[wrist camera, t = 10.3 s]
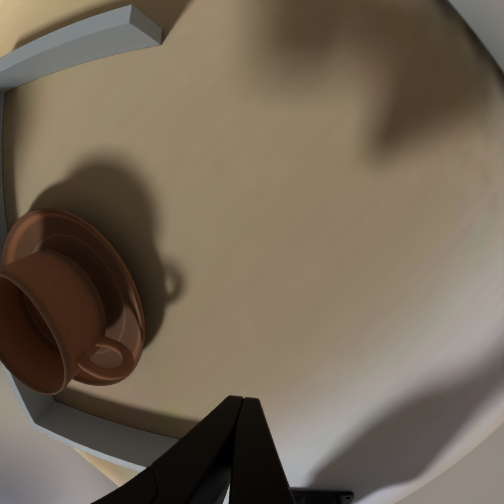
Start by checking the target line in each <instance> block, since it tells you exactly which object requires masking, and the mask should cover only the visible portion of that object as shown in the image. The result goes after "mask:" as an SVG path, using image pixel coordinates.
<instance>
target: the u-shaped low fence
mask: <svg viewBox="0 0 504 504" xmlns="http://www.w3.org/2000/svg"><path fill="white" fill-rule="evenodd" d="M161 38H162V28H160V27H159V26H158V25H157V24H156V23H154V22H153V21H152V20H151V19H150V18H148V17H147V16H146V15H145V14H143V13H142V12H141V11H140V10H138V9H137V8H136V7H134V6H133V5H128V6H124V7H121V8H117V9H114V10H111V11H108V12H104V13H101V14H98V15H95V16H92V17H89V18H87V19H84V20H81V21H78V22H76V23H73V24H71V25H68V26H66V27H63V28H61V29H58V30H56V31H54V32H51V33H49V34H47V35H45V36H42V37H40V38H38V39H36V40H34V41H32V42H30V43H28V44H26V45H24V46H22V47H20V48H18V49H16V50H14V51H12V52H10V53H8V54H7V55H5V56H3V57H1V58H0V268H1V267H2V254H3V249H4V244H5V241H6V238H7V236H8V232H7V224H6V216H5V206H4V193H3V176H2V124H3V107H4V96H5V92H6V91H9V90H11V89H13V88H16V87H18V86H20V85H23V84H25V83H27V82H30V81H32V80H35V79H38V78H40V77H43V76H46V75H48V74H51V73H54V72H57V71H60V70H63V69H66V68H69V67H72V66H75V65H78V64H82V63H85V62H88V61H92V60H95V59H99V58H103V57H107V56H111V55H115V54H119V53H123V52H128V51H132V50H137V49H142V48H147V47H153V46H158V45H161ZM0 362H1V361H0ZM1 365H2V367H3V370H4V372H5V374H6V377H7V379H8V381H9V383H10V386H11V388H12V390H13V392H14V394H15V396H16V399H17V400H18V402H19V404H20V406H21V409H22V410H23V412H24V414H25V416H26V418H27V420H28V422H29V424H30V425H31V427H32V428H35V429H36V430H38V431H40V432H42V433H44V434H46V435H48V436H50V437H52V438H54V439H57V440H59V441H61V442H63V443H65V444H67V445H69V446H72V447H74V448H76V449H79V450H81V451H83V452H86V453H88V454H91V455H93V456H96V457H98V458H101V459H104V460H106V461H109V462H112V463H115V464H118V465H121V466H124V467H127V468H130V469H133V470H136V471H139V472H142V471H143V470H144V469H145V468H147V467H148V466H151V464H152V463H153V462H154V461H155V460H157V459H158V458H159V457H160V456H161V455H163V454H164V453H165V452H166V451H167V450H169V449H170V448H171V447H172V446H173V445H174V444H176V443H177V442H178V441H179V440H180V439H176V438H171V437H167V436H162V435H158V434H154V433H150V432H146V431H142V430H139V429H135V428H132V427H128V426H125V425H121V424H118V423H115V422H112V421H108V420H105V419H102V418H99V417H96V416H93V415H91V414H88V413H85V412H82V411H79V410H77V409H74V408H72V407H69V406H66V405H64V404H61V403H59V402H56V401H55V400H54V398H53V396H52V395H44V394H40V393H38V392H35V391H33V390H31V389H30V388H28V387H26V386H25V385H24V384H22V383H21V382H20V381H19V380H17V379H16V378H15V377H14V376H13V375H12V374H11V373H10V372H9V371H8V370H7V369H6V367H5V366H4V365H3V364H2V362H1Z"/></svg>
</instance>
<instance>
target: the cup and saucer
mask: <svg viewBox="0 0 504 504" xmlns="http://www.w3.org/2000/svg"><path fill="white" fill-rule="evenodd" d="M144 341H145V321H144V313H143V308H142V304H141V300H140V297H139V294H138V291H137V288H136V286H135V283H134V281H133V279H132V277H131V275H130V273H129V271H128V269H127V267H126V265H125V264H124V262H123V261H122V259H121V257H120V256H119V254H118V253H117V252H116V250H115V249H114V248H113V246H112V245H111V244H110V243H109V242H108V240H107V239H106V238H105V237H104V236H103V235H102V234H101V233H100V232H99V231H98V230H97V229H95V228H94V227H93V226H92V225H91V224H89V223H88V222H86V221H85V220H84V219H82V218H80V217H78V216H77V215H74V214H72V213H70V212H67V211H63V210H59V209H51V208H43V209H36V210H33V211H30V212H28V213H26V214H25V215H23V216H22V217H21V218H19V219H18V220H17V221H16V223H15V224H14V225H13V226H12V228H11V230H10V232H9V234H8V236H7V238H6V241H5V244H4V249H3V254H2V267H1V268H0V361H1V362H2V364H3V365H4V366H5V367H6V369H7V370H8V371H9V372H10V373H11V374H12V375H13V376H14V377H15V378H16V379H17V380H19V381H20V382H21V383H22V384H24V385H25V386H26V387H28V388H30V389H31V390H33V391H35V392H38V393H40V394H44V395H55V394H58V393H60V392H61V391H62V390H63V389H64V388H65V387H66V385H67V384H68V383H69V382H70V381H71V380H72V379H73V380H75V381H78V382H81V383H84V384H88V385H94V386H107V385H112V384H115V383H118V382H120V381H122V380H124V379H125V378H126V377H128V376H129V375H130V374H131V373H132V372H133V370H134V369H135V367H136V366H137V364H138V362H139V360H140V357H141V354H142V351H143V346H144Z"/></svg>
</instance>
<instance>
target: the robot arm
mask: <svg viewBox="0 0 504 504" xmlns="http://www.w3.org/2000/svg"><path fill="white" fill-rule="evenodd" d="M229 484H230V492H229V504H350V503H351V501H352V500H353V498H354V494H353V492H331V493H314V492H292V491H291V489H289V488H290V486H289V484H288V481H287V478H286V475H285V473H284V470H283V467H282V464H281V461H280V459H279V456H278V453H277V450H276V447H275V444H274V441H273V438H272V435H271V433H270V430H269V427H268V424H267V421H266V418H265V415H264V412H263V409H262V406H261V403H260V400H259V399H258V398H251V397H245V398H243V397H241V396H233V395H229V396H228V397H226V398H225V399H224V400H223V401H222V402H221V403H220V404H219V405H218V406H217V407H216V408H215V409H214V410H213V411H211V412H210V413H209V414H208V415H207V416H206V417H205V418H204V419H203V420H202V421H201V422H199V423H198V424H197V425H196V426H195V427H194V428H193V429H192V430H190V431H189V432H188V433H187V434H186V435H185V436H184V437H183V438H181V439H180V440H179V441H178V442H177V443H176V444H174V445H173V446H172V447H171V448H170V449H169V450H167V451H166V452H165V453H164V454H163V455H161V456H160V457H159V458H158V459H157V460H155V461H154V462H153V463H152V464H151V466H148V467H147V468H145V469H144V470H143V471H142V472H141V473H139V474H138V475H137V476H135V477H134V478H133V479H131V480H130V481H128V482H127V483H126V484H124V485H122V486H121V487H119V488H118V489H116V490H114V491H113V492H111V493H109V494H108V495H106V496H104V497H102V498H101V499H99V500H97V501H95V502H93V503H91V504H223V501H224V499H225V496H226V493H227V490H228V487H229Z"/></svg>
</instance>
